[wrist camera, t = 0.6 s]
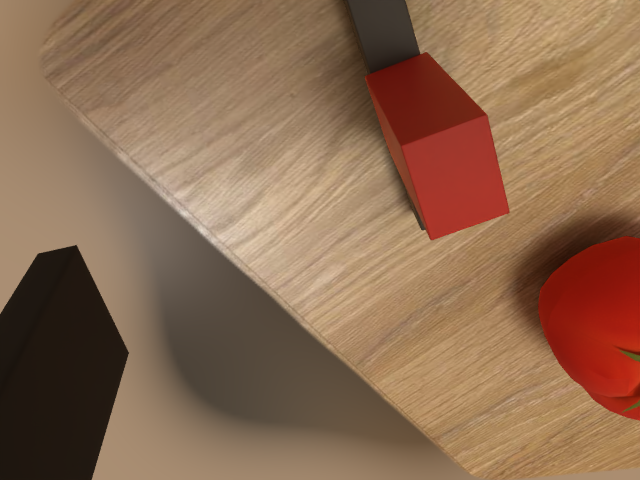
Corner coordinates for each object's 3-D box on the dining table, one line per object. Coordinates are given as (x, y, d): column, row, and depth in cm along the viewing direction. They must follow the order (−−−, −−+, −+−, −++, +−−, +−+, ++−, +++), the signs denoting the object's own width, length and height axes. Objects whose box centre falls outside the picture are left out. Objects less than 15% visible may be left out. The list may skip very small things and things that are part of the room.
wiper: (407, 212, 34) (461, 338, 25) (322, -43, 27) (352, -4, 18) (458, 194, 34) (533, 314, 24) (385, -69, 27) (451, -44, 17)
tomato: (550, 198, 34) (629, 285, 27) (719, 220, 36) (838, 308, 28) (492, 341, 39) (545, 448, 32) (643, 354, 41) (726, 459, 34)
